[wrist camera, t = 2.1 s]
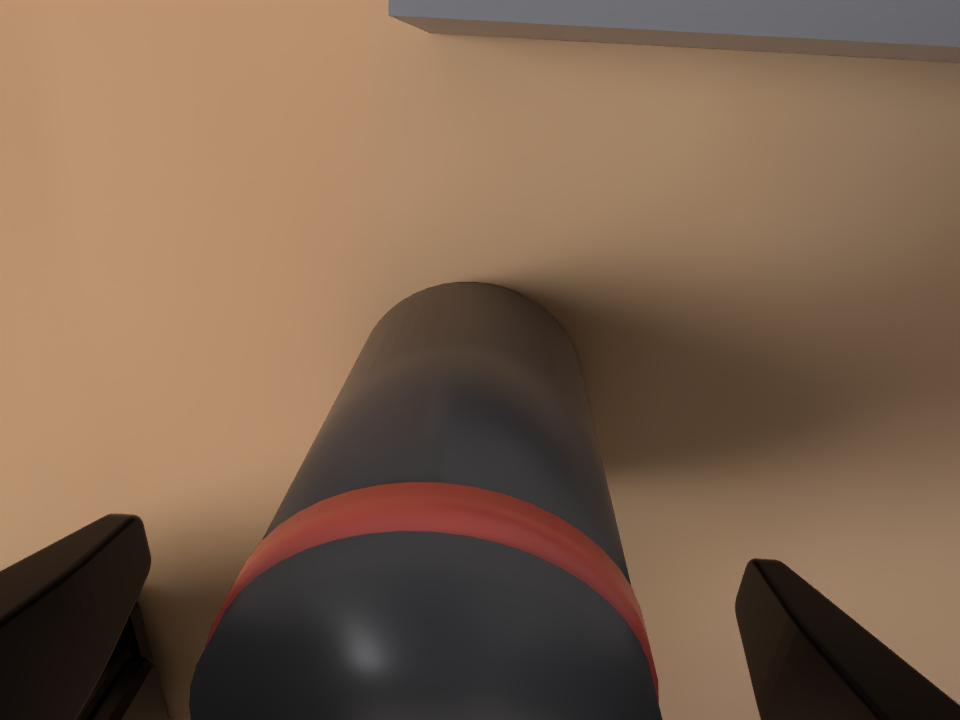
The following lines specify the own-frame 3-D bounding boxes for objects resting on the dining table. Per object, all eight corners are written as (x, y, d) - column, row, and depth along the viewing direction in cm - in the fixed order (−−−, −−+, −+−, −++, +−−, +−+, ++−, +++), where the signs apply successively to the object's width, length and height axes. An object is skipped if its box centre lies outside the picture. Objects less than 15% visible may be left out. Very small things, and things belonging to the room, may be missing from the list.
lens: (360, 474, 15) (218, 856, 8) (351, 272, 13) (142, 540, 5) (570, 488, 15) (627, 889, 8) (598, 287, 13) (717, 583, 5)
